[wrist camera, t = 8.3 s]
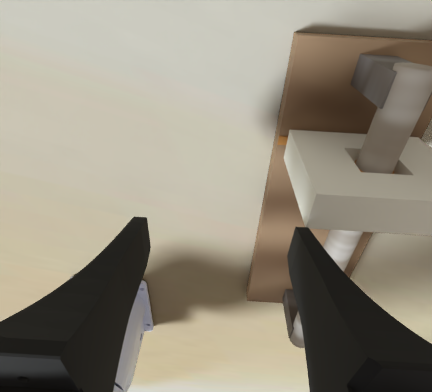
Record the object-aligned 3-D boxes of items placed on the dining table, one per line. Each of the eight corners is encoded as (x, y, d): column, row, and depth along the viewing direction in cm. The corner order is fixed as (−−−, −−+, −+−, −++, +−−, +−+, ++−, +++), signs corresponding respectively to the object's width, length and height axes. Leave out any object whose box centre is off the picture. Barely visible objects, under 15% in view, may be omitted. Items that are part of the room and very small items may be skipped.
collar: (404, 165, 19) (475, 238, 13) (283, 158, 19) (305, 228, 13) (418, 137, 18) (502, 205, 12) (289, 129, 18) (316, 194, 12)
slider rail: (331, 295, 30) (350, 354, 25) (246, 290, 30) (249, 348, 25) (454, 41, 16) (552, 66, 11) (294, 32, 16) (321, 52, 11)
